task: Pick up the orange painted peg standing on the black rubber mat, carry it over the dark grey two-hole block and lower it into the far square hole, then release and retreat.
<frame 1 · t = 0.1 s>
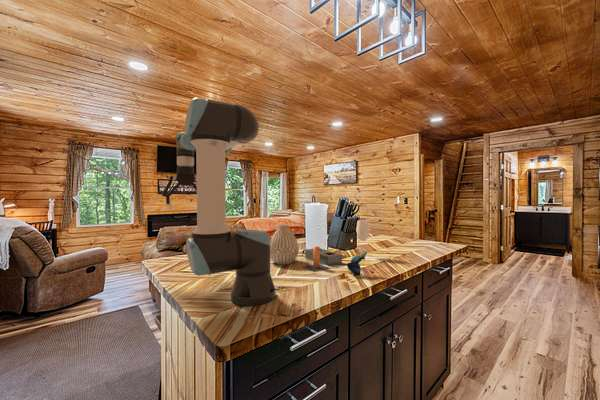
hand: (186, 211, 123), 28 cm above the counter, fingers open, 13 cm apart
hole block: (323, 261, 137), on the counter
cup: (363, 257, 147), on the counter
mat: (316, 268, 124), on the counter
vase: (283, 263, 135), on the counter
peg: (316, 267, 124), resting on mat
fish: (357, 275, 114), on the counter
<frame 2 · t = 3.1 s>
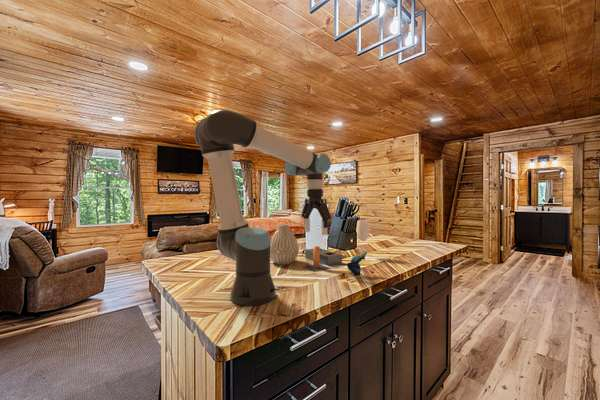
hand: (315, 233, 124), 17 cm above the counter, fingers open, 13 cm apart
nothing on the counter moved.
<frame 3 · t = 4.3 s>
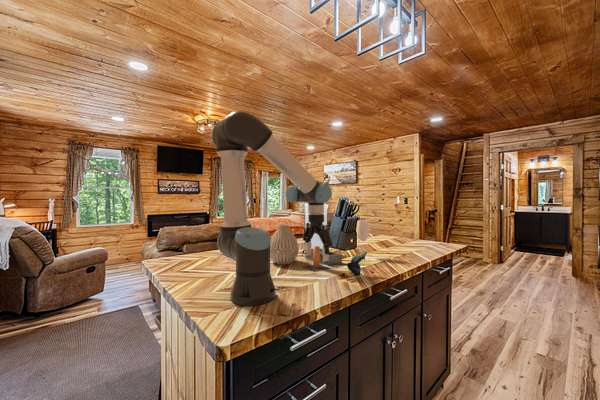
hand: (317, 258, 124), 5 cm above the counter, fingers open, 13 cm apart
nothing on the counter moved.
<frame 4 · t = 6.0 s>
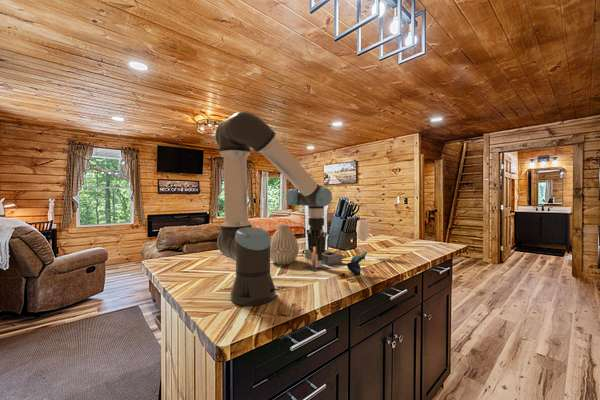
hand: (316, 266, 124), 1 cm above the counter, fingers closed on peg, 3 cm apart
peg: (316, 267, 124), resting on mat, touching gripper
everything else where it was.
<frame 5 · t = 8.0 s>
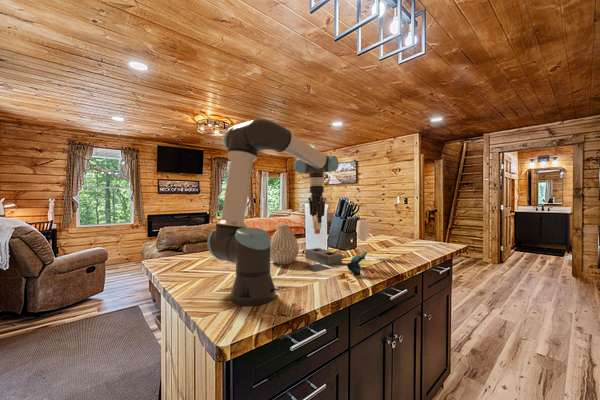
hand: (317, 228, 141), 17 cm above the counter, fingers closed on peg, 2 cm apart
peg: (317, 233, 142), point 14 cm above the counter, touching gripper
everything else where it was.
when the fingers open (6 cm above the counter, at t = 10.5 s): peg drops 4 cm, resting in hole block.
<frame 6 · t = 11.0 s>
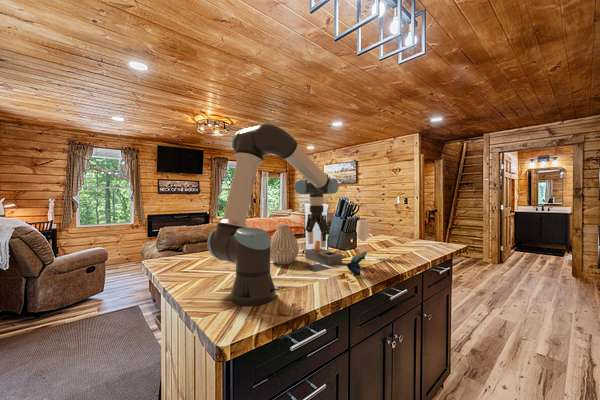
hand: (316, 245, 142), 8 cm above the counter, fingers open, 10 cm apart
peg: (317, 259, 142), resting in hole block
everything else where it was.
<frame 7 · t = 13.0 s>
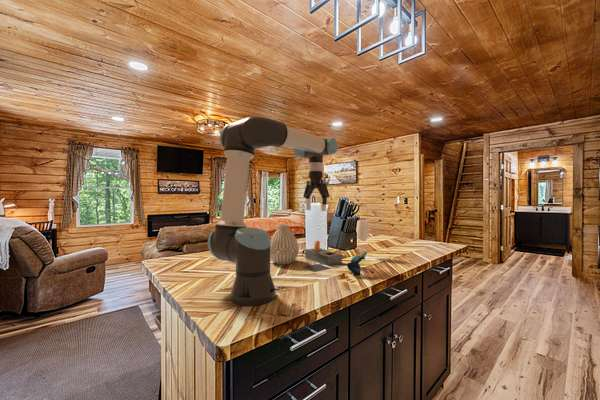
hand: (315, 210, 139), 27 cm above the counter, fingers open, 13 cm apart
nothing on the counter moved.
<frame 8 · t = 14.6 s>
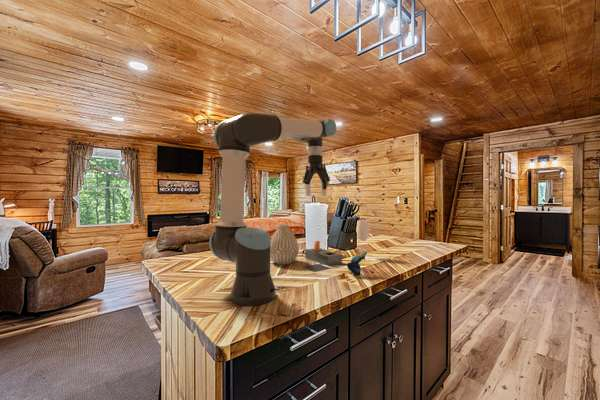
hand: (315, 196, 136), 35 cm above the counter, fingers open, 13 cm apart
nothing on the counter moved.
at the end: peg 0.1 cm from the target spot on the hole block, point 0.0 cm above the hole block's base; peg tilted 0°; the gripper is holding nothing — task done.
